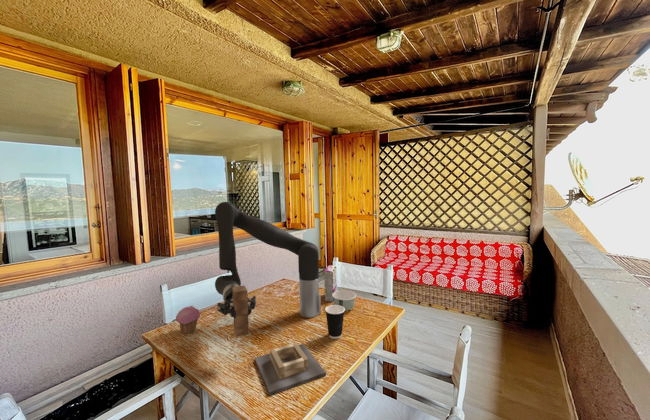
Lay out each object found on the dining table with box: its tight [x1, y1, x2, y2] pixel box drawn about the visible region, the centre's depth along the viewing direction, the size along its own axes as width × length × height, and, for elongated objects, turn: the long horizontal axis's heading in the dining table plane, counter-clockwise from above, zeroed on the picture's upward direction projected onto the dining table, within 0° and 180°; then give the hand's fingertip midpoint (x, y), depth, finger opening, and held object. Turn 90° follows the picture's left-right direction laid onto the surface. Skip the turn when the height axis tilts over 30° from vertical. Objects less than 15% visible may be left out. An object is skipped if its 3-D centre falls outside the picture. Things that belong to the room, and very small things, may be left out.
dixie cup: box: [324, 304, 345, 340], centre depth 107 cm, size 8×8×11 cm
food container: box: [332, 290, 357, 312], centre depth 134 cm, size 12×12×6 cm
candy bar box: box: [323, 264, 338, 303], centre depth 146 cm, size 11×5×16 cm, turn 168°
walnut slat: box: [232, 285, 250, 338], centre depth 91 cm, size 4×5×15 cm
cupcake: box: [175, 305, 201, 334], centre depth 112 cm, size 9×9×10 cm
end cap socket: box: [254, 342, 327, 397], centre depth 88 cm, size 18×18×4 cm
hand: (242, 313), depth 88 cm, fingers closed on walnut slat, 4 cm apart
